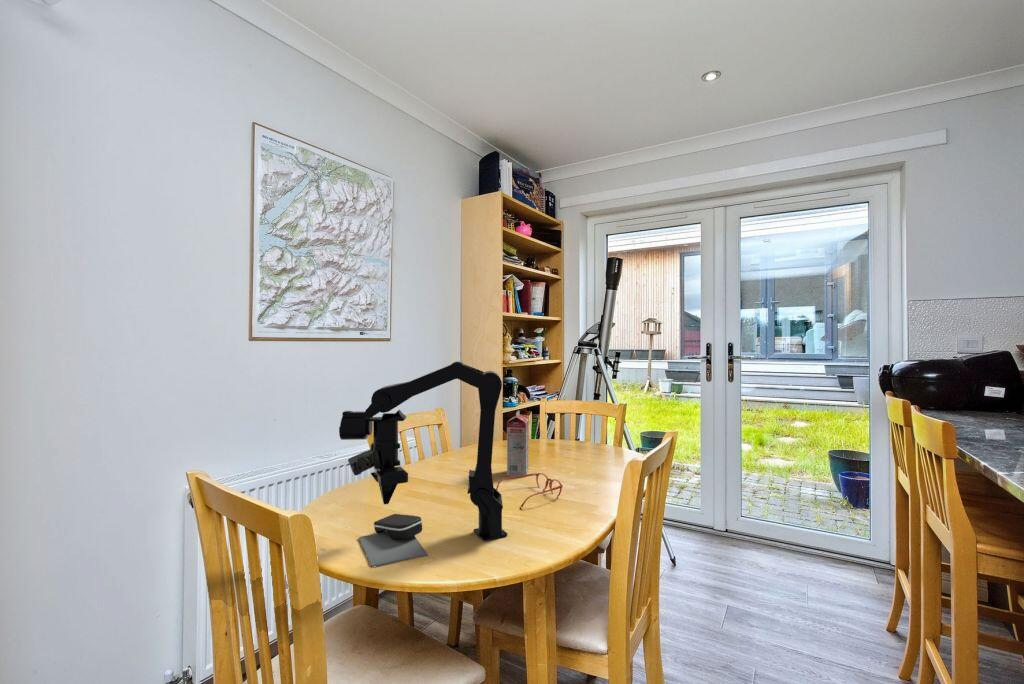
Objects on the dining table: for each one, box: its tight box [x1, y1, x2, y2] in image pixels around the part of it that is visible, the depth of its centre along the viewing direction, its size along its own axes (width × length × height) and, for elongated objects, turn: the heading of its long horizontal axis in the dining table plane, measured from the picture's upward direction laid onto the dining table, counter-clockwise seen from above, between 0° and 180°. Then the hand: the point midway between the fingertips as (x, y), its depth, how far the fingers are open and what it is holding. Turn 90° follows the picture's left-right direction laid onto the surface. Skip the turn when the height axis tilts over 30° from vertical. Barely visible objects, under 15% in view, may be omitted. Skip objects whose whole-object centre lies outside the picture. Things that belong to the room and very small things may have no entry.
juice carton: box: [506, 409, 529, 477], centre depth 166 cm, size 7×7×22 cm
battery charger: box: [373, 513, 423, 540], centre depth 114 cm, size 7×4×11 cm
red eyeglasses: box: [495, 472, 563, 509], centre depth 143 cm, size 17×16×5 cm
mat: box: [358, 531, 429, 568], centre depth 108 cm, size 16×12×1 cm
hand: (385, 503), depth 113 cm, fingers closed
